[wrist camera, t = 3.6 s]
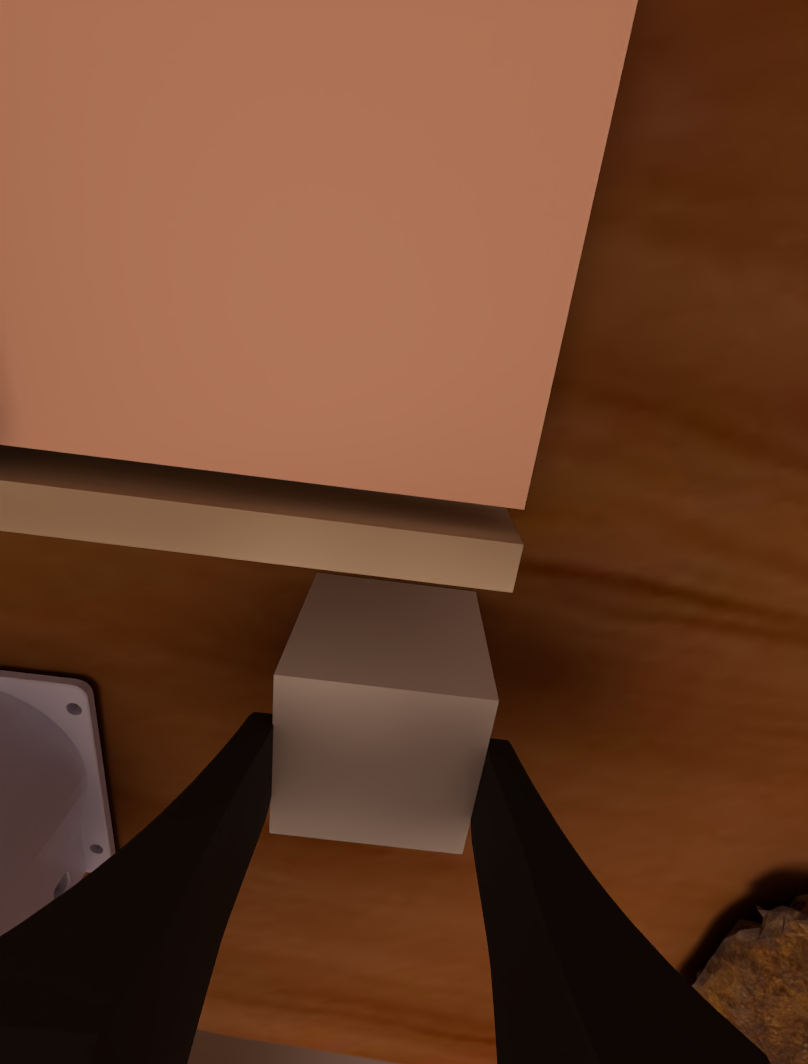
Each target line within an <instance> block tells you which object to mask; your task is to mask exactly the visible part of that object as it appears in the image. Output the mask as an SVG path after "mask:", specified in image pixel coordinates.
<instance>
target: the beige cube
mask: <svg viewBox="0 0 808 1064" xmlns="http://www.w3.org/2000/svg"><path fill="white" fill-rule="evenodd" d="M498 703H499V699H498V694H497V689H496V684H495V680H494V675H493V670H492V666H491V661H490V656H489V651H488V647H487V642H486V637H485V633H484V628H483V623H482V619H481V614H480V609H479V604H478V600H477V595H476V592H475V591H467V590H459V589H450V588H442V587H434V586H425V585H417V584H409V583H400V582H392V581H384V580H375V579H367V578H359V577H350V576H342V575H334V574H326V573H316V575H315V578H314V580H313V583H312V585H311V587H310V590H309V592H308V595H307V597H306V599H305V602H304V604H303V606H302V609H301V611H300V614H299V616H298V618H297V621H296V623H295V625H294V628H293V630H292V633H291V635H290V637H289V640H288V642H287V644H286V647H285V649H284V652H283V654H282V656H281V659H280V661H279V663H278V666H277V668H276V671H275V673H274V684H273V721H272V724H273V725H274V726H273V761H272V796H271V800H270V830H269V833H273V834H283V835H292V836H301V837H310V838H319V839H328V840H337V841H346V842H355V843H364V844H373V845H382V846H391V847H400V848H409V849H418V850H427V851H436V852H445V853H454V854H463V849H464V845H465V841H466V837H467V833H468V828H469V824H470V820H471V816H472V812H473V808H474V803H475V799H476V795H477V791H478V787H479V782H480V778H481V774H482V770H483V766H484V762H485V757H486V753H487V749H488V745H489V741H490V736H491V732H492V728H493V724H494V720H495V716H496V711H497V707H498Z"/></svg>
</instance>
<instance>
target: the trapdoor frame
mask: <svg viewBox="0 0 808 1064" xmlns="http://www.w3.org/2000/svg"><path fill="white" fill-rule="evenodd" d="M0 531H8V532H16V533H24V534H32V535H41V536H49V537H57V538H65V539H74V540H82V541H90V542H98V543H107V544H115V545H123V546H131V547H140V548H148V549H156V550H164V551H173V552H181V553H189V554H197V555H206V556H214V557H222V558H230V559H239V560H247V561H255V562H263V563H272V564H280V565H288V566H296V567H305V568H313V569H321V570H329V571H338V572H346V573H354V574H362V575H371V576H379V577H387V578H395V579H404V580H412V581H420V582H428V583H437V584H445V585H453V586H461V587H470V588H478V589H486V590H494V591H503V592H511V593H513V589H514V585H515V580H516V576H517V571H518V567H519V563H520V558H521V554H522V550H523V545H524V544H523V542H522V540H521V538H520V536H519V534H518V532H517V530H516V528H515V525H514V523H513V521H512V519H511V517H510V515H509V513H508V511H507V509H506V507H498V506H490V505H482V504H474V503H466V502H458V501H450V500H442V499H434V498H426V497H418V496H410V495H402V494H394V493H385V492H377V491H369V490H361V489H353V488H345V487H337V486H329V485H321V484H313V483H305V482H297V481H289V480H281V479H273V478H265V477H257V476H248V475H240V474H232V473H224V472H216V471H208V470H200V469H192V468H184V467H176V466H168V465H160V464H152V463H144V462H136V461H128V460H120V459H112V458H103V457H95V456H87V455H79V454H71V453H63V452H55V451H47V450H39V449H31V448H23V447H15V446H7V445H0Z"/></svg>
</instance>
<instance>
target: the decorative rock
mask: <svg viewBox="0 0 808 1064" xmlns="http://www.w3.org/2000/svg"><path fill="white" fill-rule="evenodd" d="M755 905H756V904H755ZM756 907H757V909H758V911H759V912H760V914H761V915H762V917H763V921H762V924H760V923H758V922H753V921H748V920H742V919H739V920H738V922H737V923H736V924H735V926H734V927H733V929H732V930H731V931H730V932H729V933H728V935H727V936H726V937H725V938H724V940H723V941H722V943H721V944H720V946H719V947H718V949H717V951H716V952H715V953H714V955H713V956H712V957H711V958H710V959H709V961H708V963H707V964H706V966H705V967H703V968H702V969H700V970H698V971H697V972H696V978H697V980H696V982H695V983H694V984H693V985H692V987H693V988H694V989H695V990H696V991H697V992H698V993H699V994H700V995H701V996H702V997H703V998H704V999H705V1000H707V1001H708V1002H709V1003H710V1004H711V1005H712V1006H713V1007H714V1008H715V1009H716V1010H717V1011H718V1012H720V1013H721V1014H722V1015H723V1016H724V1017H725V1018H726V1019H727V1020H728V1021H729V1022H731V1023H732V1024H733V1025H734V1026H735V1027H736V1028H737V1029H738V1030H739V1031H741V1032H742V1033H743V1034H744V1035H745V1036H746V1037H747V1038H748V1039H749V1040H750V1041H752V1042H753V1043H754V1044H755V1045H756V1046H757V1047H758V1048H759V1049H760V1050H761V1051H763V1052H764V1053H765V1054H766V1055H767V1057H768V1059H769V1061H770V1063H771V1064H808V894H805V895H799V896H797V897H794V899H793V902H792V903H791V905H790V906H789V907H786V906H782V905H781V906H779V907H776V908H774V909H772V910H770V911H767V910H765V909H763V908H761V907H759V906H758V905H756Z"/></svg>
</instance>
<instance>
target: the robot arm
mask: <svg viewBox="0 0 808 1064" xmlns="http://www.w3.org/2000/svg"><path fill="white" fill-rule="evenodd" d="M76 704H77V705H76ZM78 705H79V706H78ZM272 721H273V714H267V713H258V712H254V713H252V714H251V715H249V717H248V718H247V719H246V720H245V722H244V723H243V724H242V726H241V727H240V728H239V729H238V731H237V732H236V733H235V734H234V736H233V737H232V738H231V739H230V740H229V742H228V743H227V744H226V745H225V746H224V748H223V749H222V750H221V751H220V752H219V753H218V754H217V756H216V757H215V758H214V759H213V760H212V761H211V762H210V763H209V764H208V766H207V767H206V768H205V769H204V770H203V771H202V772H201V773H200V774H199V775H198V776H197V778H196V779H195V780H194V781H193V782H192V783H191V784H190V785H189V786H188V787H187V788H186V789H185V790H184V791H183V792H182V793H181V794H180V795H179V796H178V797H177V798H176V799H175V800H174V801H173V802H172V803H171V804H170V805H169V806H168V807H167V808H166V809H165V810H164V811H163V812H162V813H160V814H159V815H158V816H157V817H156V818H155V819H154V820H153V821H152V822H151V823H150V824H149V825H147V826H146V827H145V828H144V829H143V830H142V831H141V832H140V833H138V834H137V835H136V836H135V837H134V838H133V839H131V840H130V841H129V842H128V843H127V844H126V845H124V846H123V847H122V848H121V849H120V850H118V851H117V852H115V845H114V838H113V830H112V823H111V816H110V809H109V802H108V795H107V788H106V780H105V773H104V766H103V759H102V752H101V745H100V737H99V730H98V723H97V716H96V709H95V702H94V695H93V691H92V688H91V687H90V685H89V684H88V683H86V682H85V681H83V680H79V679H73V678H64V677H56V676H47V675H39V674H30V673H22V672H13V671H4V670H0V1064H187V1062H188V1058H189V1055H190V1051H191V1047H192V1044H193V1040H194V1036H195V1033H196V1029H197V1025H198V1022H199V1018H200V1014H201V1011H202V1007H203V1004H204V1000H205V996H206V993H207V989H208V986H209V982H210V979H211V975H212V972H213V968H214V965H215V961H216V957H217V954H218V950H219V947H220V943H221V940H222V937H223V934H224V931H225V928H226V925H227V922H228V919H229V917H230V914H231V911H232V909H233V906H234V903H235V901H236V898H237V895H238V892H239V890H240V887H241V884H242V882H243V879H244V876H245V874H246V871H247V868H248V866H249V863H250V860H251V857H252V855H253V852H254V849H255V847H256V844H257V841H258V838H259V836H260V833H261V830H262V828H263V825H264V822H265V819H266V815H267V812H268V808H269V804H270V800H271V796H272V761H273V726H274V725H273V724H272ZM471 834H472V845H473V852H474V859H475V865H476V872H477V879H478V885H479V891H480V898H481V904H482V911H483V917H484V923H485V930H486V936H487V943H488V950H489V958H490V966H491V977H492V991H493V1004H494V1018H495V1032H496V1048H497V1064H771V1063H770V1061H769V1059H768V1057H767V1055H766V1054H765V1053H764V1052H763V1051H761V1050H760V1049H759V1048H758V1047H757V1046H756V1045H755V1044H754V1043H753V1042H752V1041H750V1040H749V1039H748V1038H747V1037H746V1036H745V1035H744V1034H743V1033H742V1032H741V1031H739V1030H738V1029H737V1028H736V1027H735V1026H734V1025H733V1024H732V1023H731V1022H729V1021H728V1020H727V1019H726V1018H725V1017H724V1016H723V1015H722V1014H721V1013H720V1012H718V1011H717V1010H716V1009H715V1008H714V1007H713V1006H712V1005H711V1004H710V1003H709V1002H708V1001H707V1000H705V999H704V998H703V997H702V996H701V995H700V994H699V993H698V992H697V991H696V990H695V989H694V988H693V987H692V986H691V985H690V984H689V983H688V982H687V981H686V980H685V979H684V978H683V977H682V976H681V975H680V974H679V973H678V972H677V971H676V970H675V969H674V968H673V967H672V966H671V965H670V964H669V963H668V962H667V960H666V959H665V958H664V957H663V956H662V955H661V954H660V953H659V952H658V951H657V950H656V948H655V947H654V946H653V945H652V944H651V943H650V942H649V941H648V940H647V939H646V938H645V936H644V935H643V934H642V933H641V932H640V931H639V930H638V929H637V928H636V927H635V926H634V924H633V923H632V922H631V921H630V920H629V919H628V917H627V916H626V915H625V914H624V913H623V912H622V910H621V909H620V908H619V907H618V906H617V904H616V903H615V902H614V901H613V900H612V898H611V897H610V896H609V895H608V893H607V892H606V891H605V889H604V888H603V887H602V886H601V884H600V883H599V882H598V881H597V879H596V878H595V877H594V875H593V874H592V873H591V871H590V870H589V869H588V867H587V866H586V865H585V863H584V862H583V860H582V859H581V858H580V856H579V855H578V853H577V852H576V851H575V849H574V848H573V846H572V845H571V843H570V842H569V841H568V839H567V838H566V836H565V835H564V833H563V832H562V830H561V829H560V827H559V826H558V824H557V822H556V821H555V819H554V818H553V816H552V814H551V813H550V811H549V810H548V808H547V807H546V805H545V803H544V802H543V800H542V799H541V797H540V795H539V794H538V792H537V790H536V788H535V787H534V785H533V783H532V782H531V780H530V778H529V776H528V775H527V773H526V771H525V769H524V767H523V766H522V764H521V762H520V760H519V758H518V756H517V755H516V753H515V751H514V749H513V747H512V745H511V744H510V742H509V741H508V740H500V739H491V738H490V741H489V745H488V749H487V753H486V757H485V762H484V766H483V770H482V774H481V778H480V782H479V787H478V791H477V795H476V799H475V803H474V808H473V812H472V816H471ZM86 872H91V873H90V874H88V875H87V876H86V877H84V878H83V876H84V874H85V873H86ZM82 878H83V879H82ZM81 879H82V880H81Z"/></svg>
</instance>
